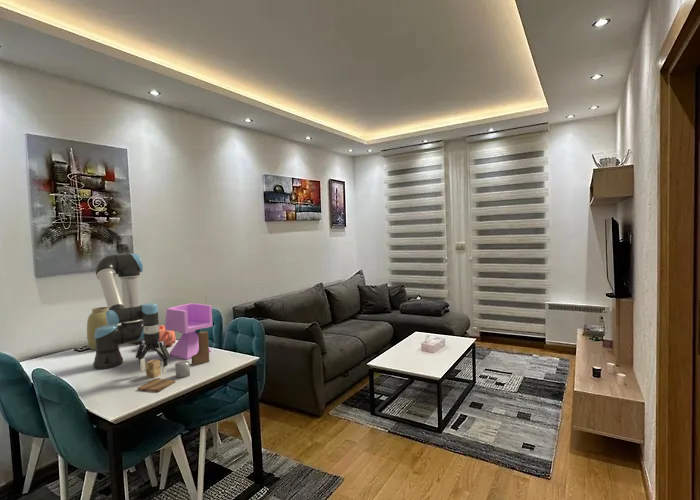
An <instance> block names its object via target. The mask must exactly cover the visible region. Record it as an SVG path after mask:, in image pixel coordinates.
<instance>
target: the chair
mask: <svg viewBox="0 0 700 500" xmlns="http://www.w3.org/2000/svg"><path fill="white" fill-rule="evenodd" d="M213 325H214V324H213V307H212V304H211V305H210V304H205V303H204V304H202V303H197V302H196V303H184V304H181V305H174V306H171V307H168V308H166V315H165V323H164V326H165V330H168V331H174V332H178V333H180V334H182V335H181V336H180V337H179V339H178V341H177V342H175V344H174V346H173V348H171V350H170V352H169V355H170V357H175V358H179V359H181V358H182V360H185V359H186V360H185V361H188V359H189V360H192V356H194V355H196V354H197V353H198V351H199V340H198V333H197V332H196V331H198V330H201V329H208V328H211V327H213ZM211 352H212V349H211V348H210V347H209V353H211Z"/></svg>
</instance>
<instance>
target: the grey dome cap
mask: <svg viewBox="0 0 700 500" xmlns="http://www.w3.org/2000/svg"><path fill="white" fill-rule="evenodd" d="M190 365H191V364H190V361H188V360H181V361H178V362H175V364H174V367H175V378H177V379H185V378H188V377H190V375H191V366H190Z"/></svg>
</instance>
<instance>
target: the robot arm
mask: <svg viewBox="0 0 700 500" xmlns="http://www.w3.org/2000/svg"><path fill="white" fill-rule="evenodd" d="M141 258H142V257H141V256H140V255H139V254H138V253H123V254H122V253H121V254H109V255H105V257H104V256H103V258H101V259H100V260H99V262H98V263H97V265H96V267H95V276H96V279H98V281H99V282H100V286H101V289H102V292H103V296H104V298H105V302H106V305H107V306H106V307H108V310H109V311H107V312H106V322H107V325H104V326H101V327H99V328H97V329H96V330H95V345H96V350H95V356H94V359H93V360H94V361H93V363H92V368H93V369H95V370H106V369H111V368H115V367H119V366H121V365H122V364H123V363H124V358H123V356H122V354H121V351H120V346H122V345H127V344H131V343H132V342H137V341H140V345H138V349H137V351H136V354H135V358H136V359H138V363H139V367H140V368H139V369H140V372H144V371H146V357H145V356H146V354H147V353H148V352H149V351H154V352H156V353H157V354H158V357H160V358H161V360H160V364H161V374H163V373H166V372H167V370H168V369H167V368H168V367H167V366H168V360H170V359H171V356H170V352H169V351H168V348H167V346H165V343H164V341H162V342H159V332H158V331H159V326H160V324H159V322H160V321H159V309H158V304H157V303H155V302H154V303H151V302H150V303H145V304H140V301H139V285H138V283H139V282H138V278H139V277H140V276H141V275H140V273H142V272H143V271H144V265H143V260H142V259H141ZM116 275H117V277H118V278H119V279H120V281H121V283H120V284H121V292H120V289H119V285H118V282H117V280H116ZM118 324H119V325H118ZM143 339H144V340H143ZM142 340H143V341H142Z"/></svg>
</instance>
